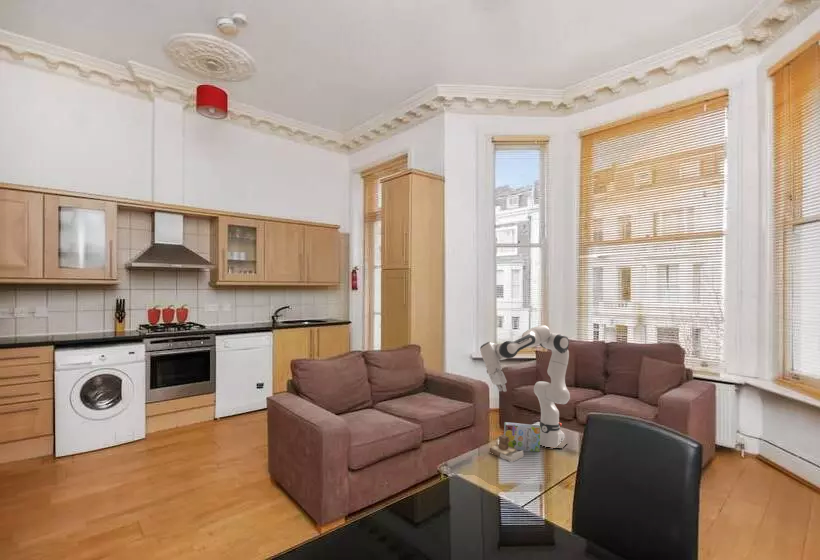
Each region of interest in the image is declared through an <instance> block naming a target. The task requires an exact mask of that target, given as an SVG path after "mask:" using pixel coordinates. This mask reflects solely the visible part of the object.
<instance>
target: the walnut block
mask: <svg viewBox="0 0 820 560" xmlns="http://www.w3.org/2000/svg"><path fill="white" fill-rule="evenodd" d="M508 443H509V437H507V436H505V435H504V434H503V435H502V434H501V435H499V436H498V444H499V448H500V449H502V450H506V449H508Z"/></svg>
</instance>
